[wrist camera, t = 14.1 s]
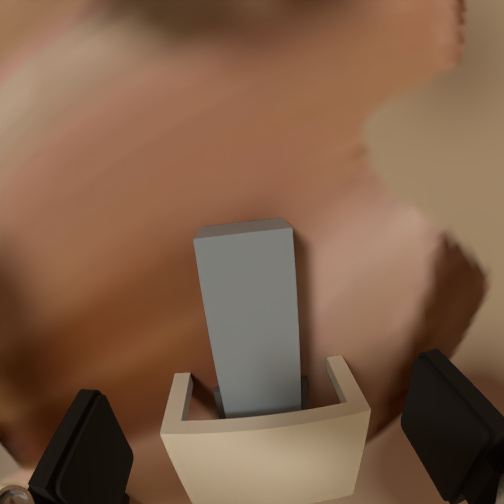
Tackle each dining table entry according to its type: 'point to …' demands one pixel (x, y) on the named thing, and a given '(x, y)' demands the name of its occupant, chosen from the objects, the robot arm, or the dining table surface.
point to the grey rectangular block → (252, 314)
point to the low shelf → (269, 447)
